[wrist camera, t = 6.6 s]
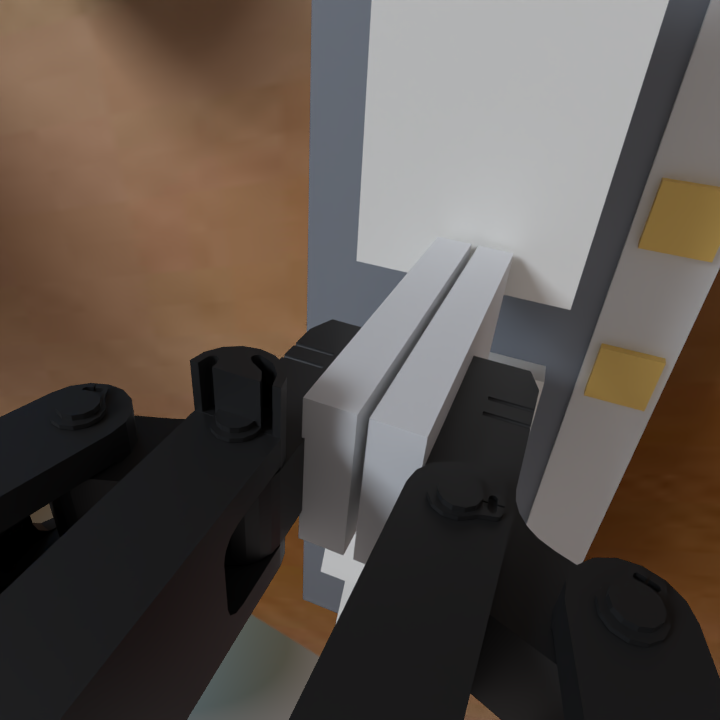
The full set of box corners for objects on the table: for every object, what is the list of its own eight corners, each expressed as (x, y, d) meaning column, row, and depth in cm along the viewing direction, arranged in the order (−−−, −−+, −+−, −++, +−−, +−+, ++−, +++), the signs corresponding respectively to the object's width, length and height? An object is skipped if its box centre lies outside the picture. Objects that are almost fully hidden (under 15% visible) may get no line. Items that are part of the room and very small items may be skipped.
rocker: (384, 230, 15) (354, 263, 14) (419, -177, 11) (379, -203, 9) (577, 271, 14) (569, 313, 12) (716, -174, 9) (733, -203, 8)
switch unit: (332, 543, 35) (283, 636, 30) (374, -173, 16) (265, -239, 11) (533, 618, 31) (515, 736, 26) (865, -166, 13) (1007, -255, 8)
